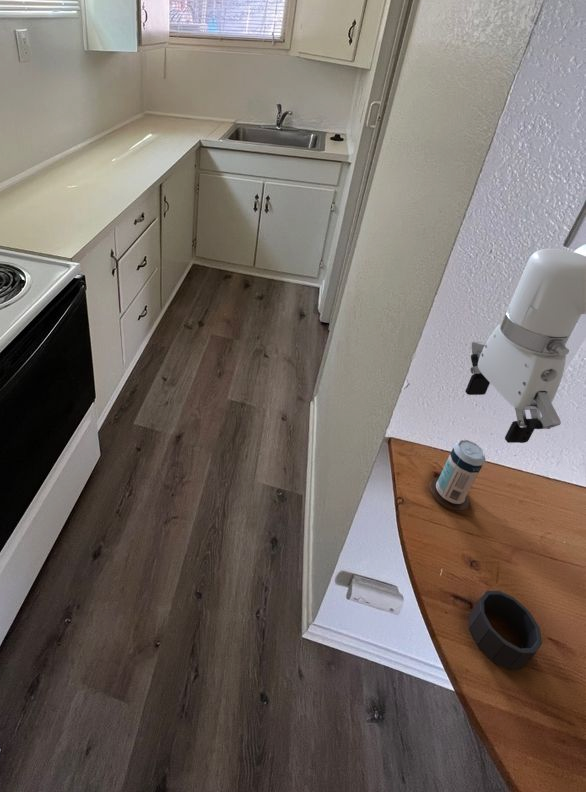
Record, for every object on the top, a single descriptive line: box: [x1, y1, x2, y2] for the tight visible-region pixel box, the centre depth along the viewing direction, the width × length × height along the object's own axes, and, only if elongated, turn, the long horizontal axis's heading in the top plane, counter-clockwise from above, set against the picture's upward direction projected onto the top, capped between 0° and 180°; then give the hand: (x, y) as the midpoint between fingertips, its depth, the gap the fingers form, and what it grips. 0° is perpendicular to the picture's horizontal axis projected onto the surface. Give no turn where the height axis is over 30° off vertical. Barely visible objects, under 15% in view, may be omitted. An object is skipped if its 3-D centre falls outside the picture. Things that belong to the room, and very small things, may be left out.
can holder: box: [467, 590, 543, 671], centre depth 60 cm, size 7×7×5 cm
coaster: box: [428, 476, 470, 513], centre depth 80 cm, size 6×6×1 cm
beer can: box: [436, 439, 486, 504], centre depth 77 cm, size 5×5×12 cm
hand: (493, 415), depth 70 cm, fingers open, 9 cm apart
